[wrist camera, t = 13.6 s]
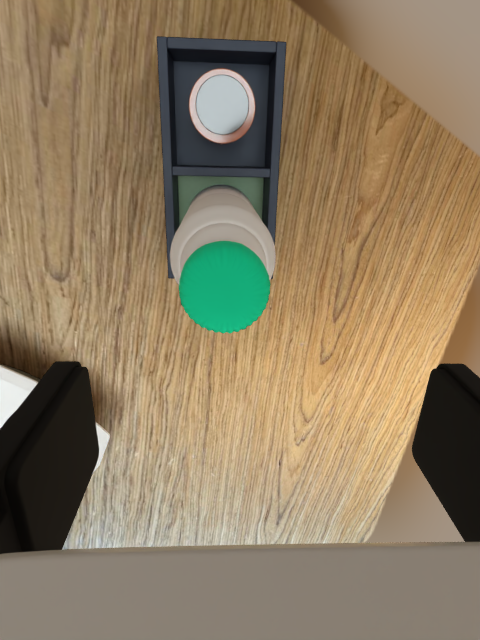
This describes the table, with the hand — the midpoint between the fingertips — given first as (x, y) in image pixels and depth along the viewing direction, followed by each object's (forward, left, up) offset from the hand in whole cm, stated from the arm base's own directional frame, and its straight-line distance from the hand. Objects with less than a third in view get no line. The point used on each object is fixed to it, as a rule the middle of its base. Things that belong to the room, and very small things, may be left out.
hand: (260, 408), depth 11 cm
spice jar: (-10, -1, -35) cm, 36 cm away
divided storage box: (-5, -1, -36) cm, 36 cm away
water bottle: (0, -1, -35) cm, 35 cm away
